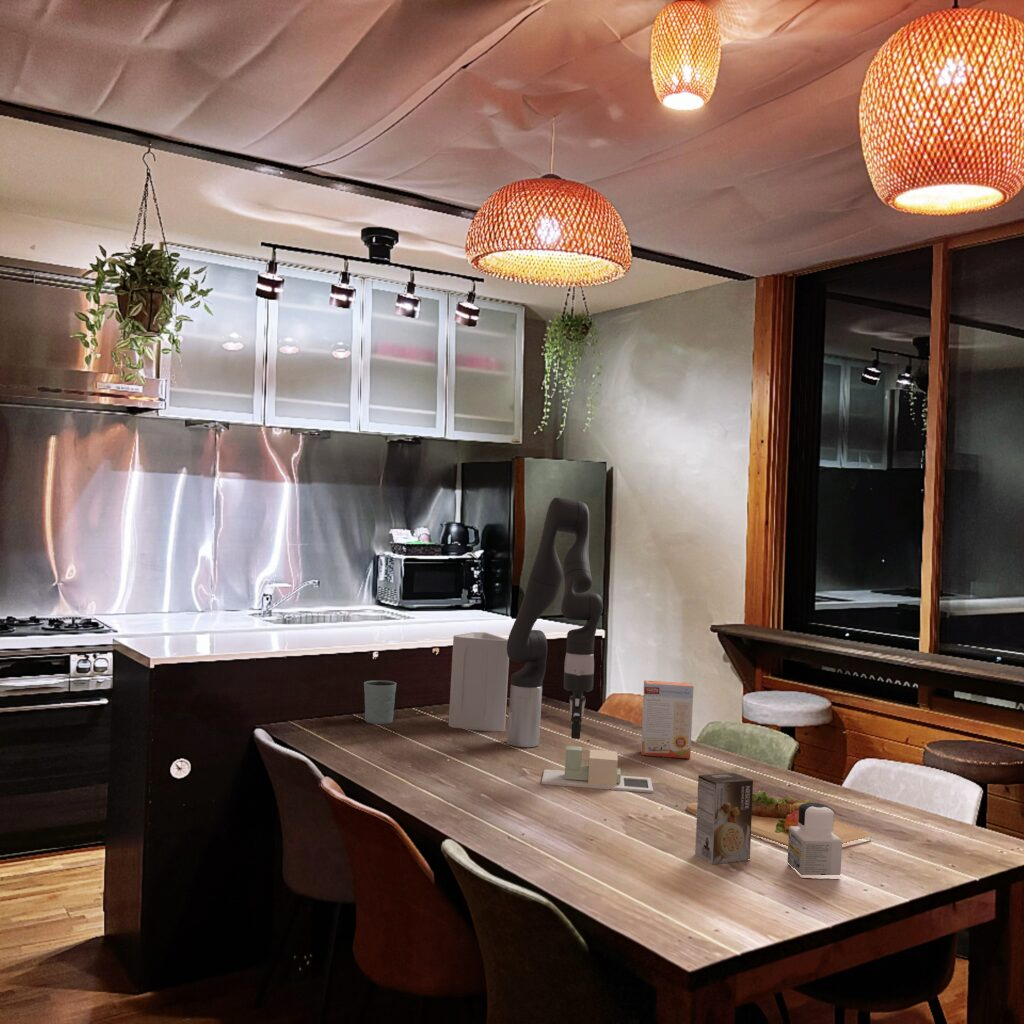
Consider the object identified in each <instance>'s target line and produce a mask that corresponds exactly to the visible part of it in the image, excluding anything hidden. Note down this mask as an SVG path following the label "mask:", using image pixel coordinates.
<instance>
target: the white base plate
mask: <svg viewBox="0 0 1024 1024" xmlns="http://www.w3.org/2000/svg"><path fill="white" fill-rule="evenodd" d="M588 757H589V760H588V763H589V764H588V766H589V776H588V781H585V780H572V779H564V775H565V770H558V769H546V768H545V769H544V770H543V774H542V779H541V785H550V786H551V785H552V786H564V787H575V788H577V787H578V788H585V789H586V788H587V789H597V790H598V789H599V790H600V789H601V790H609V789H611V790H612V791H621V790H623V792H635V793H648V794H649V793H650V794H654V788H653V783H652V777H647V776H646V777H644V776H635V775H634V776H633V775H621V780H620V783H617V768H618V763H619V760H618V751H613V750H601V749H589V756H588Z"/></svg>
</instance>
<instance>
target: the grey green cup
mask: <svg viewBox="0 0 1024 1024" xmlns="http://www.w3.org/2000/svg"><path fill="white" fill-rule="evenodd" d="M363 690H364V691H363V692H364V722H366V723H368V724H374V725H387V724H391V723H393V722H394V713H395V712H394V708H395V699H396V691H397V682H395V681H391V680H384V679H383V680H379V679H378V680H367V681H364V682H363Z"/></svg>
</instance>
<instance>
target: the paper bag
mask: <svg viewBox="0 0 1024 1024" xmlns="http://www.w3.org/2000/svg"><path fill="white" fill-rule="evenodd" d="M452 639H453V641H452V657H451V659H452V660H451V676H450V691H449V692H450V693H449V694H450V695H449V710H448V711H449V712H448V726H449V727H450V728H455V729H463V730H473V731H482V732H483V731H484V732H491V733H492V732H505V731H506V719H507V702H508V701H507V698H508V683H509V682H508V681H509V667H510V659H509V657H508V654H507V641H508V638H504V637H502V636H498V635H495V634H492V633H489V632H485V631H483V632H481V631H480V632H477V631H476V632H474V631H472V632H466V633H462V634H460V633H459V634H456V635H453V638H452Z"/></svg>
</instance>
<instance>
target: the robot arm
mask: <svg viewBox="0 0 1024 1024" xmlns="http://www.w3.org/2000/svg"><path fill="white" fill-rule="evenodd" d="M558 532H562V533H567V534H574V535H575V541H574V543H573V544H572V546H571V548H570V549H569V550H568V552H567V553H566V555H565V556H564V559H563V565H562V564H561V561H560V558H559V556H558V552H557V549H556V548H557V547H556V537H557V534H558ZM589 549H590V511H589V507H588V505H587V504H586V503H585V502H582V501H580V500H575V499H574V500H573V499H569V498H565V497H554V498H553V499H552V500H551V501H550V503H549V505H548V507H547V511H546V515H545V519H544V523H543V529H542V534H541V537H540V541H539V545H538V550H537V553H536V555H535V559H534V561H533V565H532V568H531V571H530V574H529V577H528V581H527V584H526V588H525V592H524V594H523V598H522V601H521V605H520V607H519V611H518V613H517V615H516V618H515V620H514V623H513V625H512V627H511V630H510V631H509V632H510V633H509V635H508V637H507V639H508V641H507V654H508V657H509V661H512V662H515V663H525V665H524V666H523V667H522V668H521V669H520V670H518V671H516V672H514V673H512V674H511V676H510V691H509V707H508V708H509V709H508V714H507V731H506V733H507V734H506V745H507V746H513V747H518V748H534V747H538V746H539V745H540V738H541V737H540V735H541V734H540V732H541V713H542V699H543V698H542V695H543V681H544V678H545V674H546V667H547V666H546V664H547V658H548V657H547V656H548V640H547V636H546V635H545V633H544V632H543V631H542V630H540V629H533V627H534V626H535V624H536V622H537V621H538V619H539V618H540V617H541V616H542V615H543V614H544V613H545V612H546V611H547V610H548V609H549V608H550V607H551V605H553V603H554V602H555V601H556V599H557V597H558V595H559V592H560V589H561V585H562V582H563V580H564V592H563V596H562V601H561V606H560V611H561V614H562V615H563V617H564V618H565V619H567V620H569V621H570V620H571V621H585V622H586V623H585V624H584V625H583V626H581V627H579V628H575V629H570V630H569V631H568V632H567V633H566V644H565V645H566V650H565V651H566V652H565V658H564V667H563V668H564V671H563V689H564V690H565V691H570V692H571V691H572V694H573V695H570V696H569V705H570V706H569V707H570V709H569V714H570V716H571V719H570V723H571V733H570V736H571V739H573V740H579V739H580V738H581V731H582V723H583V719H582V717H583V716H584V713H585V706H586V696H584V692H586V693H588V692H591V691H593V690H594V676H595V675H594V674H595V673H594V672H595V658H594V655H595V653H594V650H595V637H596V631H597V628H598V625H599V622H600V620H601V616H602V612H603V609H604V601H603V598H602V597H601V595H599V594H598V593H597V592H595V593H594V592H588V591H589V590H590V589H591V588H592V585H593V579H592V573H591V571H592V570H591V565H590V553H589ZM562 567H563V568H562Z"/></svg>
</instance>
